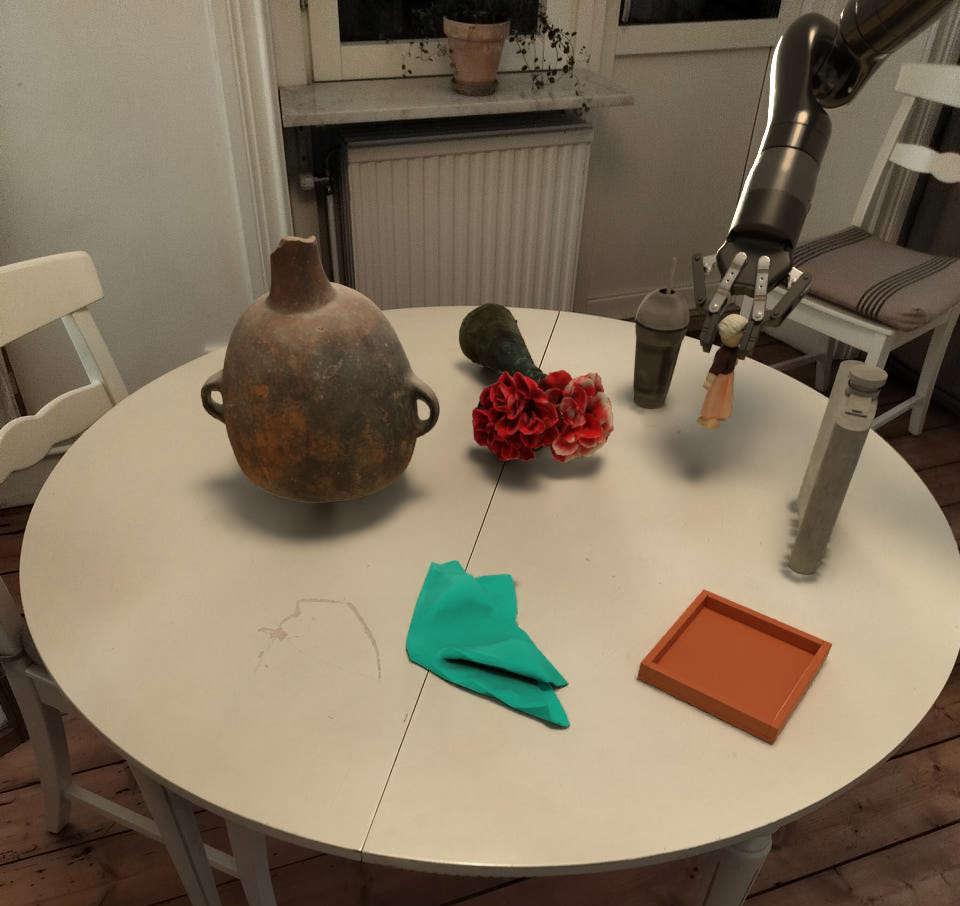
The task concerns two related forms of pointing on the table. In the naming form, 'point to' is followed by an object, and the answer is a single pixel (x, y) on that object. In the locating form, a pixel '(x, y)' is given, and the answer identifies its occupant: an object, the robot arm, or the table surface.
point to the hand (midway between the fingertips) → (723, 352)
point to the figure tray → (735, 664)
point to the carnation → (530, 395)
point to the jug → (317, 387)
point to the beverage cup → (658, 343)
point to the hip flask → (834, 459)
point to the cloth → (482, 641)
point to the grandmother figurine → (722, 373)
